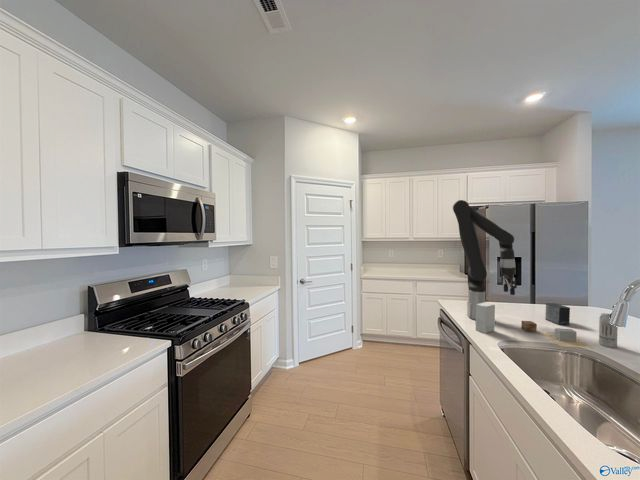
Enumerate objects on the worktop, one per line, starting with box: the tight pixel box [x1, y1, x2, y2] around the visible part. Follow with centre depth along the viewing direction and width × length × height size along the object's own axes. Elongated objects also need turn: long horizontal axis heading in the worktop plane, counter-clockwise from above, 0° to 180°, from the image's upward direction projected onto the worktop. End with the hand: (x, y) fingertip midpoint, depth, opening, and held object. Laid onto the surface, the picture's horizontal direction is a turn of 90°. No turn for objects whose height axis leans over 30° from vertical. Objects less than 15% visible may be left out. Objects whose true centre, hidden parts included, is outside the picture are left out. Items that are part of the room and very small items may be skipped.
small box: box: [545, 302, 571, 326], centre depth 166 cm, size 11×6×10 cm, turn 179°
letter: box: [539, 332, 596, 350], centre depth 139 cm, size 14×18×1 cm
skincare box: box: [475, 301, 496, 334], centre depth 153 cm, size 8×6×15 cm
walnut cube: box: [521, 320, 538, 334], centre depth 152 cm, size 5×5×5 cm
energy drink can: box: [598, 312, 618, 349], centre depth 132 cm, size 6×6×15 cm
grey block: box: [554, 327, 577, 342], centre depth 139 cm, size 7×4×5 cm, turn 78°
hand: (509, 293), depth 167 cm, fingers open, 8 cm apart
